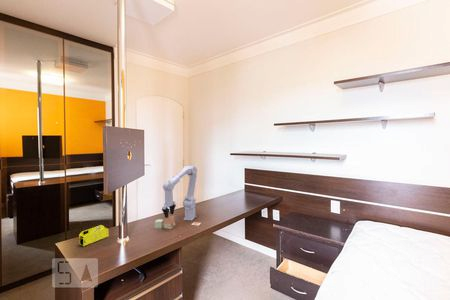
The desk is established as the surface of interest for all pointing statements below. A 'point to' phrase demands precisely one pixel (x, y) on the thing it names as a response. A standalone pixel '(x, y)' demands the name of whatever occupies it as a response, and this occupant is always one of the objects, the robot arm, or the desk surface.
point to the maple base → (169, 225)
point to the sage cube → (159, 223)
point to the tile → (196, 223)
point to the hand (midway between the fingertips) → (169, 215)
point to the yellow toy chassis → (93, 235)
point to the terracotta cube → (169, 219)
